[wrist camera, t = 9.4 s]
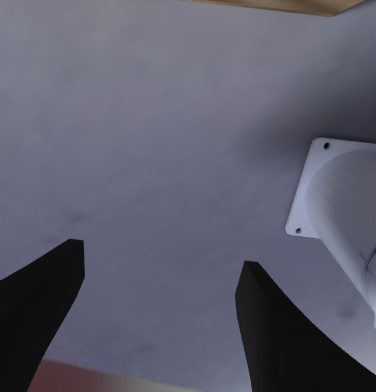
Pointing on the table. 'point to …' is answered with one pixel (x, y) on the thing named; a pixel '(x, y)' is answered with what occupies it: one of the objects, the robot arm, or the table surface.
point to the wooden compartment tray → (292, 5)
